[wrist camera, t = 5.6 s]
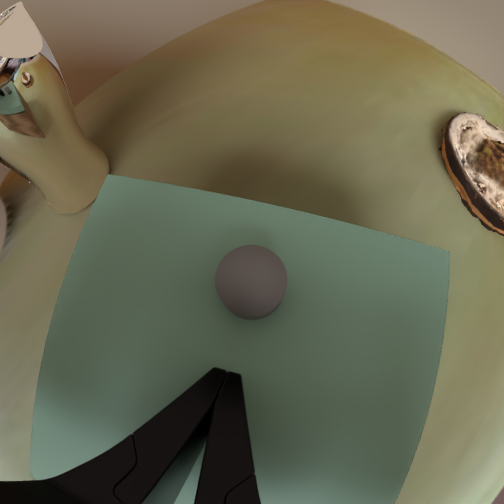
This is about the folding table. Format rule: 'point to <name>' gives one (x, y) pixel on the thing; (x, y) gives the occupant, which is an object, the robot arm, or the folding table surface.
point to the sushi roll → (476, 166)
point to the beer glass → (43, 120)
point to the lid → (245, 338)
